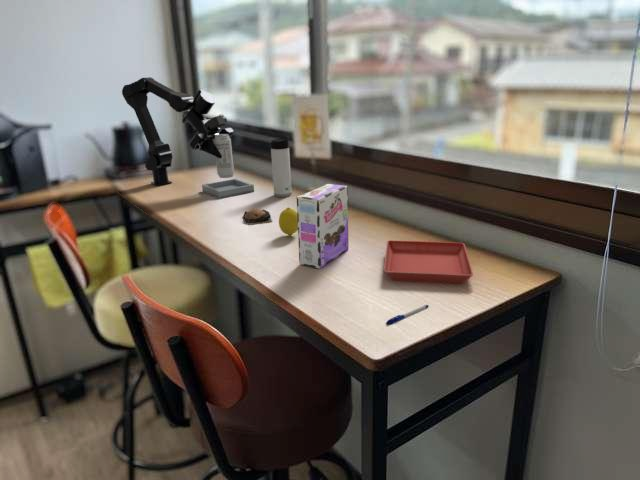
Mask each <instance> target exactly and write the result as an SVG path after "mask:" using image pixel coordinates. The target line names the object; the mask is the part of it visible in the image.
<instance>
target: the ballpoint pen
mask: <svg viewBox="0 0 640 480" xmlns="http://www.w3.org/2000/svg"><path fill="white" fill-rule="evenodd" d="M428 307H429V305H428V304H424V305H421V306H419V307H417V308H416V309H412V310H411V311H408V312H406V313H404V314H398V315H396V316H394V317H391V318H390V319H388V320H387V321H386V323H385V324H386V325H387V326H390V325H391V324H395V323H397V322H398V321H401V320H403V319H406V318H408V317H410V316H413V315H414V314H417V313H420V312H421V311H423V310H425V309H427V308H428Z"/></svg>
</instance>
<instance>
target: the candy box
mask: <svg viewBox="0 0 640 480" xmlns="http://www.w3.org/2000/svg"><path fill="white" fill-rule="evenodd" d="M348 193H349V191H348V185H344V184H343V185H342V184H336V183H335V184H334V183H326V184H324V185H323V186H320V187H318V188H315V189H313V190H311V191H308V192H305V193H303V194H301V195H298V196H296V212H297V218H298V230H297V234H298V235H297V236H298V237H297V238H298V261H299V265H303V266H308V267H310V268H315V269H321V268H324V267H325V266H326V265H327V264H329V263H330V262H332V261H334V260H335V259H337V258H338V257H339V256H341V255H342V254H344V253H345V252H347V251H348V250H349V246H350V245H349V209H348V208H349V203H348V202H349V200H348V199H349V198H348Z"/></svg>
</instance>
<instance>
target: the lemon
mask: <svg viewBox="0 0 640 480" xmlns="http://www.w3.org/2000/svg"><path fill="white" fill-rule="evenodd" d="M278 217H279V218H278V226H279V228H280V231H281V232H282V233H284V234H285V235H288V236H289V237H291V236H293V235H294V234H295V233H296V232H298V218H297V210H295V209H294V208H291V207H289V206H288V207H286V208H285V209H283V210H282V211H281V212H280V214H279V216H278Z"/></svg>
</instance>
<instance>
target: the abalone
mask: <svg viewBox="0 0 640 480" xmlns="http://www.w3.org/2000/svg"><path fill="white" fill-rule="evenodd" d="M242 219H243V222H244V223H245V224H247V225H248V226H255V225H261V224H262V225H263V224H269V223H273V219H272V217H271V214H270V211H267V210H266V209H261V208H252V209H250V210H248V211H246V210H245V211H244V213H243V215H242Z"/></svg>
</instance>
